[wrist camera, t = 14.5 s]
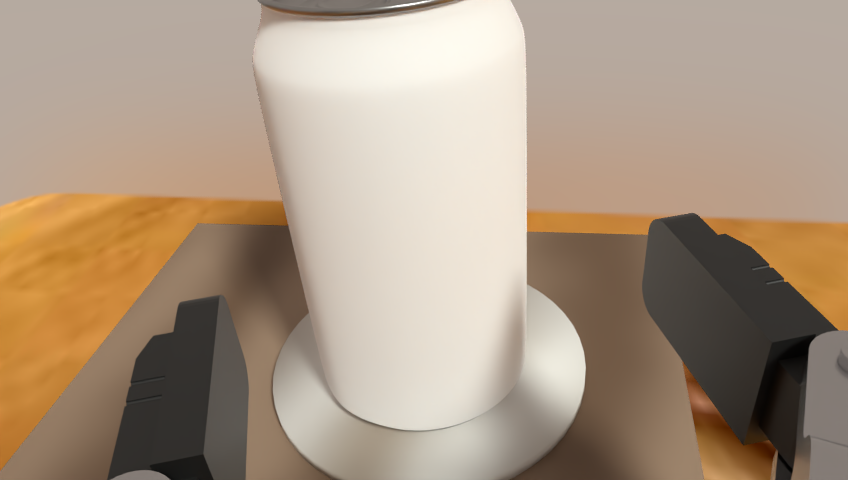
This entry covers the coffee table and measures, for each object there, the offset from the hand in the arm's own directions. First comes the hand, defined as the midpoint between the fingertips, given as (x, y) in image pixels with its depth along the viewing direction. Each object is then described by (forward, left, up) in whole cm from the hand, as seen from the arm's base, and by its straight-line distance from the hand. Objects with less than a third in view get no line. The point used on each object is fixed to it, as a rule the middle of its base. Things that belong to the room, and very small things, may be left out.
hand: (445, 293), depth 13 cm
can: (-2, +6, -8) cm, 10 cm away
